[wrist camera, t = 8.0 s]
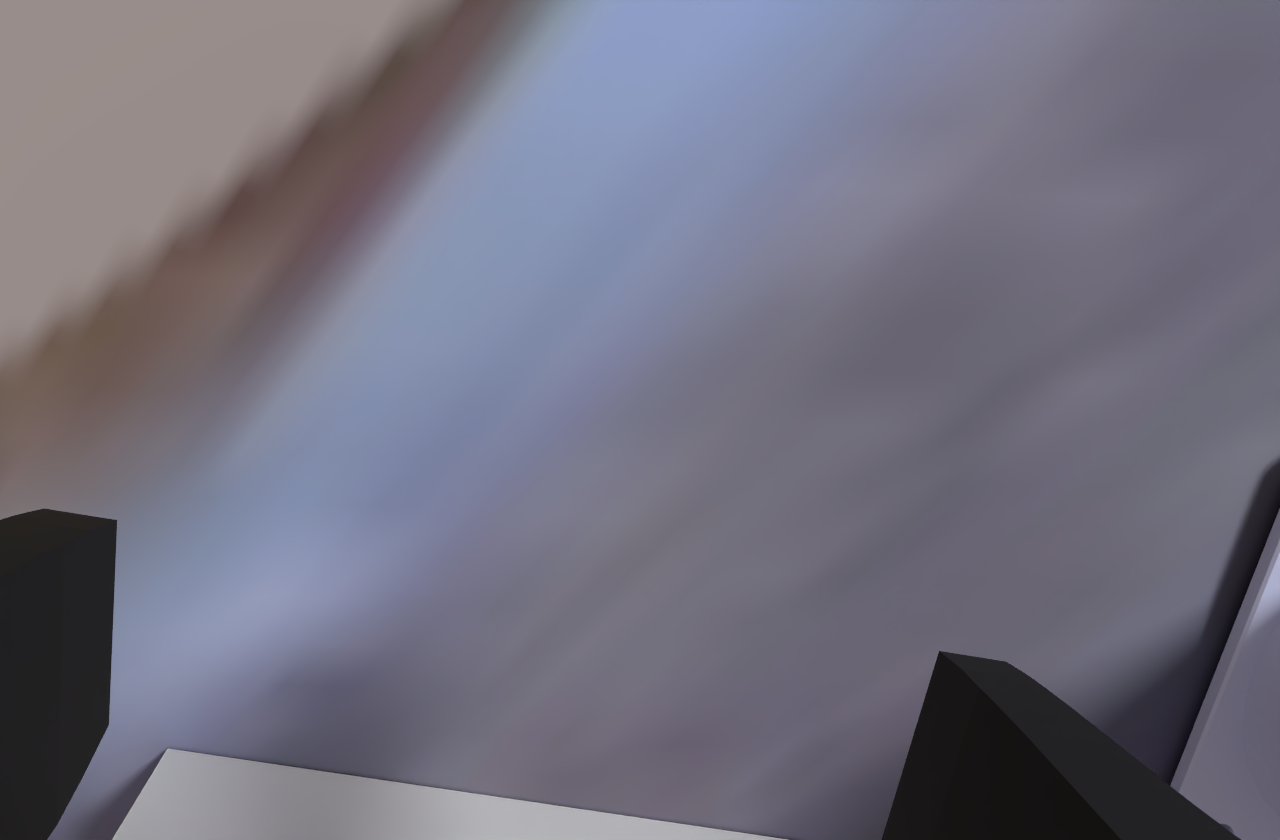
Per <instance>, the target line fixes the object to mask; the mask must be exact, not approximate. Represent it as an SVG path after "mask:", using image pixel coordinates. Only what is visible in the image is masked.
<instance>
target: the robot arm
mask: <svg viewBox="0 0 1280 840" xmlns="http://www.w3.org/2000/svg"><path fill="white" fill-rule="evenodd" d="M116 531H117V520H112V519H106V518H100V517H93V516H87V515H81V514H74V513H68V512H62V511H56V510H49V509H40V510H36V511H31V512H27V513H23V514H19V515H15V516H12V517H8V518H5V519H2V520H0V840H47V839H48V837H49V836H50V834H51V833H52V831H53V830H54V828H55V827H56V825H57V824H58V822H59V820H60V818H61V816H62V815H63V813H64V811H65V809H66V807H67V805H68V803H69V802H70V800H71V798H72V796H73V794H74V792H75V790H76V789H77V787H78V785H79V783H80V781H81V779H82V777H83V775H84V773H85V771H86V769H87V767H88V765H89V763H90V761H91V759H92V757H93V755H94V753H95V751H96V749H97V747H98V745H99V743H100V741H101V739H102V737H103V735H104V733H105V731H106V729H107V727H108V725H109V705H110V680H111V655H112V630H113V606H114V581H115V556H116ZM1221 824H1222V825H1221ZM882 840H1280V509H1279V512H1278V514H1277V517H1276V519H1275V522H1274V524H1273V527H1272V529H1271V532H1270V534H1269V537H1268V539H1267V542H1266V545H1265V547H1264V550H1263V552H1262V555H1261V557H1260V560H1259V562H1258V565H1257V567H1256V570H1255V572H1254V575H1253V577H1252V580H1251V582H1250V585H1249V588H1248V590H1247V593H1246V595H1245V598H1244V600H1243V603H1242V605H1241V608H1240V610H1239V613H1238V615H1237V618H1236V620H1235V623H1234V625H1233V628H1232V631H1231V633H1230V636H1229V638H1228V641H1227V643H1226V646H1225V648H1224V651H1223V653H1222V656H1221V658H1220V661H1219V663H1218V666H1217V669H1216V671H1215V674H1214V676H1213V679H1212V681H1211V684H1210V686H1209V689H1208V691H1207V694H1206V696H1205V699H1204V701H1203V704H1202V706H1201V709H1200V712H1199V714H1198V717H1197V719H1196V722H1195V724H1194V727H1193V729H1192V732H1191V734H1190V737H1189V739H1188V742H1187V744H1186V747H1185V750H1184V752H1183V755H1182V757H1181V760H1180V762H1179V765H1178V767H1177V770H1176V772H1175V775H1174V777H1173V780H1172V782H1171V785H1168V784H1167V783H1166V782H1164V781H1163V780H1162V779H1161V778H1159V777H1158V776H1157V775H1155V774H1154V773H1153V772H1152V771H1150V770H1149V769H1148V768H1147V767H1145V766H1144V765H1143V764H1142V763H1140V762H1139V761H1138V760H1136V759H1135V758H1134V757H1133V756H1131V755H1130V754H1129V753H1128V752H1126V751H1125V750H1124V749H1123V748H1121V747H1120V746H1119V745H1118V744H1116V743H1115V742H1114V741H1113V740H1111V739H1110V738H1109V737H1108V736H1106V735H1105V734H1104V733H1102V732H1101V731H1100V730H1099V729H1097V728H1096V727H1095V726H1094V725H1092V724H1091V723H1090V722H1089V721H1087V720H1086V719H1085V718H1084V717H1082V716H1081V715H1080V714H1079V713H1077V712H1076V711H1075V710H1073V709H1072V708H1071V707H1070V706H1068V705H1067V704H1066V703H1064V702H1063V701H1062V700H1061V699H1059V698H1058V697H1057V696H1055V695H1054V694H1053V693H1051V692H1050V691H1049V690H1047V689H1046V688H1045V687H1043V686H1042V685H1041V684H1039V683H1038V682H1036V681H1035V680H1034V679H1032V678H1031V677H1029V676H1028V675H1026V674H1025V673H1023V672H1022V671H1020V670H1019V669H1017V668H1015V667H1014V666H1012V665H1010V664H1009V663H1007V662H1004V661H998V660H992V659H986V658H979V657H973V656H967V655H960V654H954V653H948V652H942V651H939V654H938V657H937V660H936V663H935V667H934V670H933V673H932V677H931V680H930V683H929V686H928V690H927V693H926V696H925V700H924V703H923V706H922V709H921V713H920V716H919V719H918V723H917V726H916V729H915V732H914V736H913V739H912V742H911V746H910V749H909V752H908V755H907V759H906V762H905V765H904V769H903V772H902V775H901V778H900V782H899V785H898V788H897V792H896V795H895V798H894V801H893V805H892V808H891V811H890V815H889V818H888V821H887V824H886V828H885V831H884V834H883V838H882Z"/></svg>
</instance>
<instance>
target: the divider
mask: <svg viewBox="0 0 1280 840" xmlns="http://www.w3.org/2000/svg"><path fill="white" fill-rule="evenodd" d="M112 840H788V839H781V838H774V837H767V836H760V835H754V834H747V833H740V832H733V831H726V830H720V829H713V828H706V827H699V826H692V825H685V824H679V823H672V822H665V821H658V820H651V819H645V818H638V817H631V816H624V815H617V814H611V813H604V812H597V811H590V810H583V809H576V808H570V807H563V806H556V805H549V804H542V803H536V802H529V801H522V800H515V799H508V798H501V797H495V796H488V795H481V794H474V793H467V792H461V791H454V790H447V789H440V788H433V787H427V786H420V785H413V784H406V783H399V782H392V781H386V780H379V779H372V778H365V777H358V776H352V775H345V774H338V773H331V772H324V771H317V770H311V769H304V768H297V767H290V766H283V765H277V764H270V763H263V762H256V761H249V760H242V759H236V758H229V757H222V756H215V755H208V754H202V753H195V752H188V751H181V750H174V749H168V748H167V750H166V752H165V753H164V755H163V757H162V758H161V760H160V761H159V763H158V765H157V766H156V768H155V770H154V771H153V773H152V775H151V776H150V778H149V780H148V781H147V783H146V784H145V786H144V788H143V789H142V791H141V793H140V794H139V796H138V798H137V799H136V801H135V803H134V804H133V806H132V807H131V809H130V811H129V812H128V814H127V816H126V817H125V819H124V821H123V822H122V824H121V826H120V827H119V829H118V830H117V832H116V834H115V835H114V837H113V839H112Z"/></svg>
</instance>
